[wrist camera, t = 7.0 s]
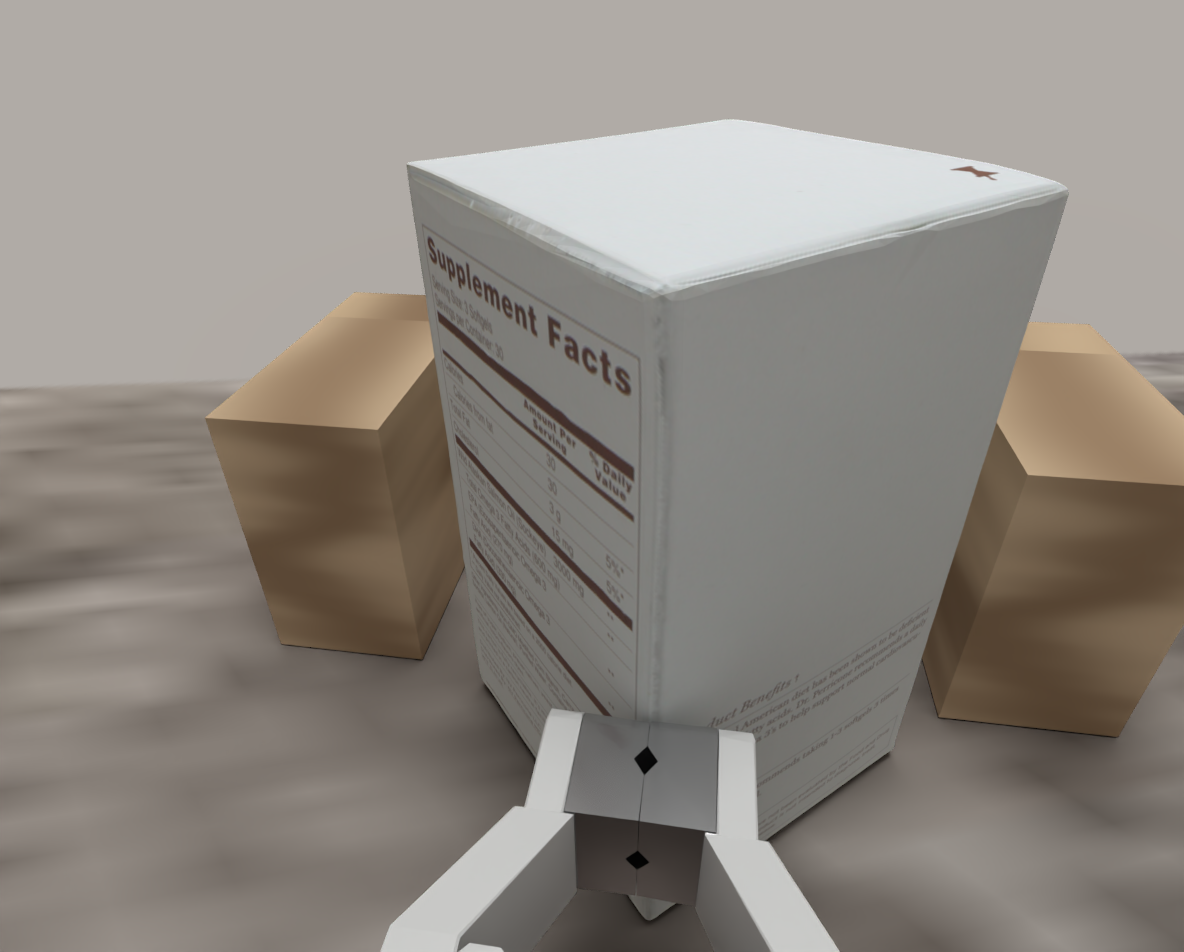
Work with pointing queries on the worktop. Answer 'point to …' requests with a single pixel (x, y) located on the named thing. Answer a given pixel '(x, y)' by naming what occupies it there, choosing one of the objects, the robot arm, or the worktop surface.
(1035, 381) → the oak rack
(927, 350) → the supplement box
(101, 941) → the worktop surface
